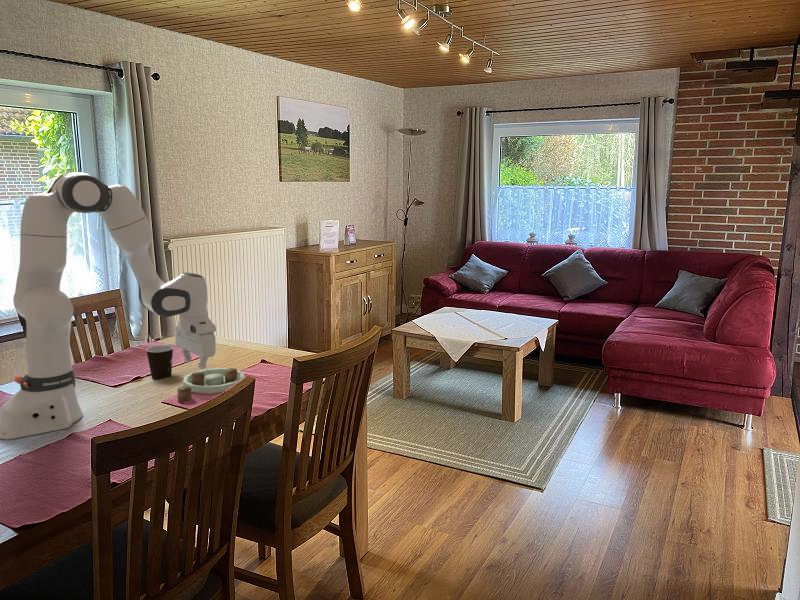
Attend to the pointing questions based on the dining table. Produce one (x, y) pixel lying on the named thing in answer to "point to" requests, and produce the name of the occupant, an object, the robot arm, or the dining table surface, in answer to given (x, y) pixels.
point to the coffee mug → (160, 361)
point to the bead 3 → (230, 375)
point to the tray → (215, 387)
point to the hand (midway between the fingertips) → (194, 365)
